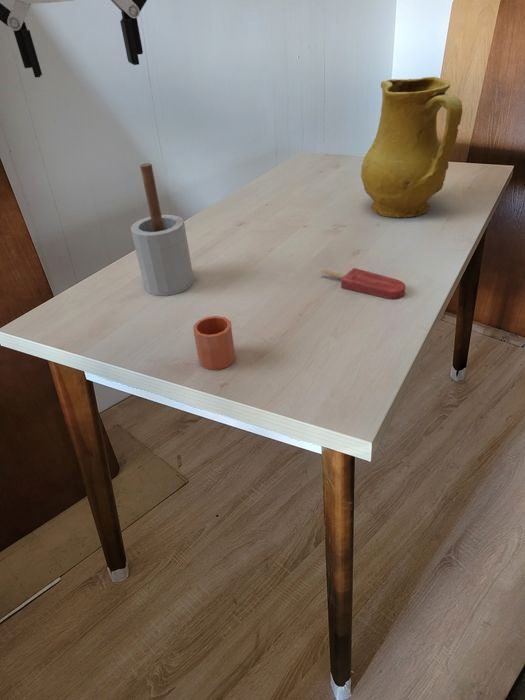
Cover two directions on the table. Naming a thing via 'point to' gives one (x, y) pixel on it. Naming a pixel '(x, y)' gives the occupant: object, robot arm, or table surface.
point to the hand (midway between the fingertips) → (87, 69)
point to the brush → (152, 197)
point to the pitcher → (410, 146)
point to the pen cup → (214, 342)
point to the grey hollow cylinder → (163, 256)
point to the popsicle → (370, 283)
